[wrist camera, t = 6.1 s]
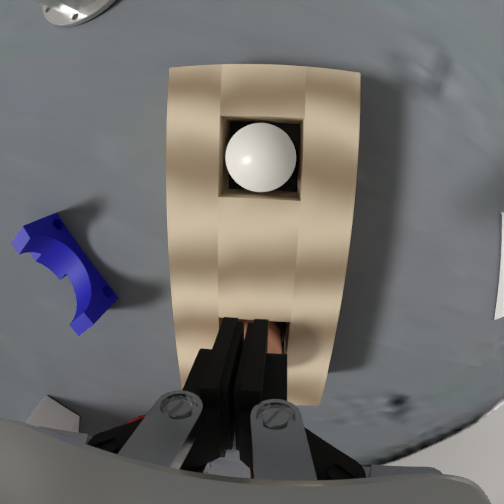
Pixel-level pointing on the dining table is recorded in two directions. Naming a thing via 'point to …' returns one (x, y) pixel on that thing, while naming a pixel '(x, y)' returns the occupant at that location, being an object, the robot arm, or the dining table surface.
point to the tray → (501, 280)
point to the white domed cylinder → (260, 157)
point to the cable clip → (67, 267)
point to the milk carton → (54, 416)
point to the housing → (261, 211)
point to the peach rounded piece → (269, 336)
